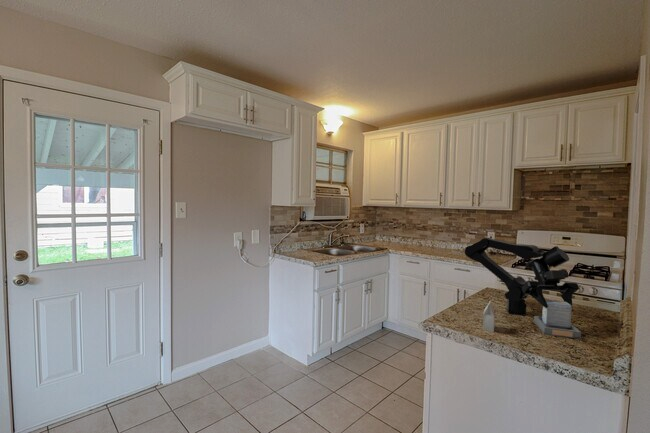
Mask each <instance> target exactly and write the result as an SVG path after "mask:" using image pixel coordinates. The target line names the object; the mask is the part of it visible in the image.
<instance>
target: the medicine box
mask: <svg viewBox="0 0 650 433" xmlns="http://www.w3.org/2000/svg"><path fill="white" fill-rule="evenodd" d="M545 300H546V303H547V306H548V307H547V308H545V307H544V306H543V305H542V312H541V313H542V315H541V317H542V321H543V322H544V323H545V324H546V325H552V326H560V327H569V328H570V323H571V318H572V309H571V307H572V308H573V305H572V306H571V305H570V304H569V303H567V302H564V301H562V300H549V299H545Z"/></svg>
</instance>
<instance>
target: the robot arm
mask: <svg viewBox="0 0 650 433" xmlns="http://www.w3.org/2000/svg"><path fill="white" fill-rule="evenodd" d="M488 248H491V249H496V250H499V251H504V252H508V253H512V254H514V255H515V256H516V257H519V258H521V259H524V260H527V262H526V264H525V267H526V268H529V269H531V270H532V271H533V273H534V275H535V276H534V280H525V279H524V278H523V277H522V276H513V275H512V274H510V273H509V272H508V271H507V270H506V269H505V268H503V267H502V266H501V265H500V264H499V263H497V262H496V261H494V260H493V259H492V258H491V257H489V256H488V254H487V252H486V251H487V249H488ZM464 255H465V257H467V258H469V259H471V260H473V261H475V262H477V263H479V264H481V265H482V266H483V267H484V268H486V269H487V271H488V272H491V274H493V275H494V276H495V277H497V279H499V280H500V281H502V283H504V284H505V287H506V289H507V292H505V293H504V297H505V299H506V308H505V311H506V312H507V313H508V314H510V315H519V316H526V315H527V314H526V313H527V303H526V300H525V299H527V297H528V296H530V297H531V298H533V299H534V300H536V301H537V302H538V303H539V304H540V305H541V306H542V307H543V306H544V307H545V308H547V307H548V306H547V303H546V300H547V299H545V296H544V294H543V291H559V293H560V297H561V298H562V300H563V302H567V303H569V304H570V305H571V306H572V307H571V310H572V309H573V295H574V294H575V293H577V291H579V290H580V289H581V288H580V286H579V284H578V283H577V282H571V281H565V282H564V283H563V284H562V285H560V283H561V280H566V279H567V278H569V277H570V275H569V272H568V270H567V269H565V268H564V269H563V268H561V269H558V270H557V269H556V270H555V269H551V268H550V267H553V268H556V267H559V266H561V265H563V264H565V263H567V262H568V261H570V258H569V255H568V254H567V252H565V251H564V250H563V249H561V248H559V246H558V245H557V246H553V247H552V248H550V249H549V250H547V251H545V250H542V249H539V247H538V246H536V245H534V244H521V243H520V244H517V243H513V242H508V241H503V240H500V239H495V238H491V237H484V238H481V240H479V241H477V242H475V243H473V244H471V245H467V246H466V247H465V249H464ZM532 259H533V260H532ZM529 260H531V261H529Z"/></svg>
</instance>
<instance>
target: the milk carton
mask: <svg viewBox="0 0 650 433" xmlns="http://www.w3.org/2000/svg"><path fill="white" fill-rule="evenodd" d="M495 322H496V309H495V308H494V307H493V304H492V300H489V302H488V304H486V307H485V308H484V310H483V314H482V331H484V332H489V333H494V330H495Z"/></svg>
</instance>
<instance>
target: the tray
mask: <svg viewBox="0 0 650 433" xmlns="http://www.w3.org/2000/svg"><path fill="white" fill-rule="evenodd" d="M533 323H534V324H535V325H536V326H537V328H538V329H539V330H540V331H541V332H542V333H543V335H544V336H545V335H546V336H554V337H562V338H570V339H578V340H581V338H582V337H581V336H582V335H581V334H582V332H581V331H580V330H579V329H578V328H577V327H575V325H573V323H571V322H570V328H569V327H560V326H552V325H546V324H545V323H544V322H543V321H542V316H538V315H534V316H533Z"/></svg>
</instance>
